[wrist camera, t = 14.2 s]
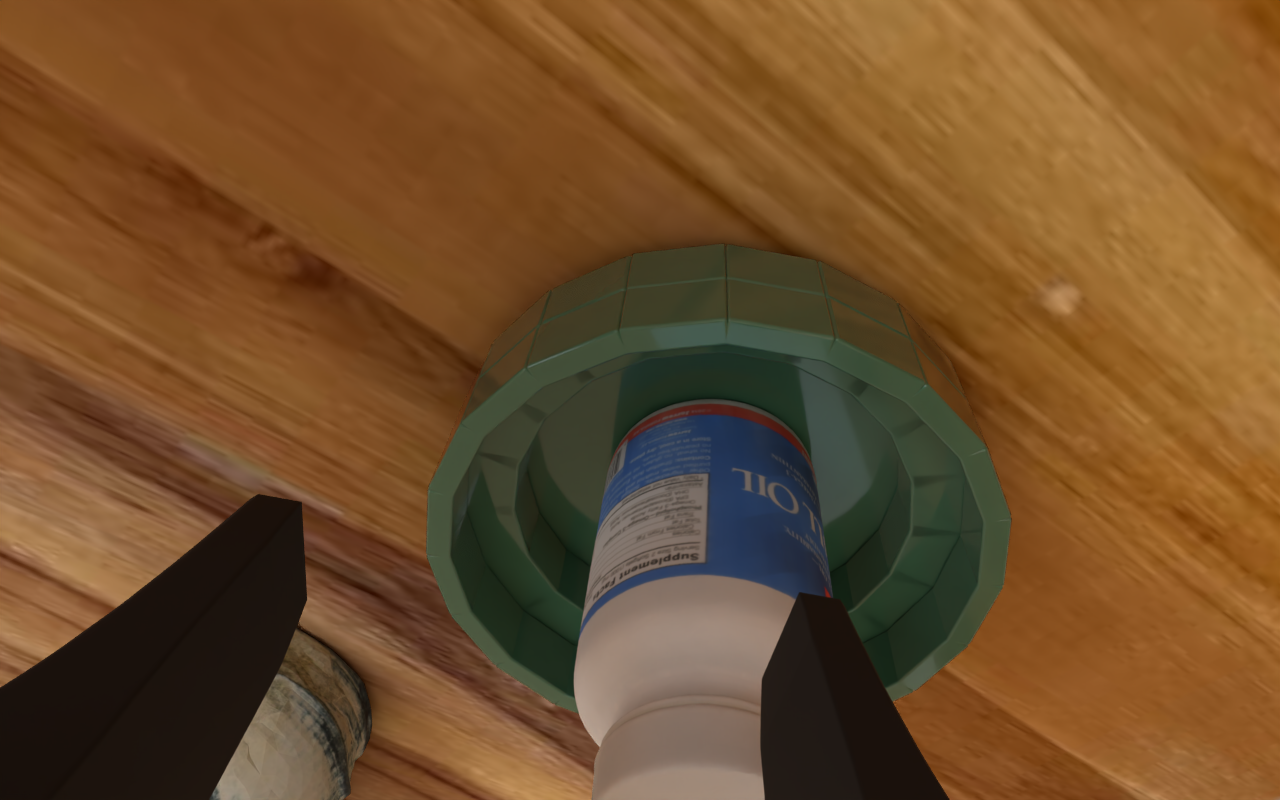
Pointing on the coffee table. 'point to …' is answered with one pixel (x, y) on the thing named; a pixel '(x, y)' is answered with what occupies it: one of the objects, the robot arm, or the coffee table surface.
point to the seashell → (302, 731)
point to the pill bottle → (693, 598)
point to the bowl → (730, 370)
